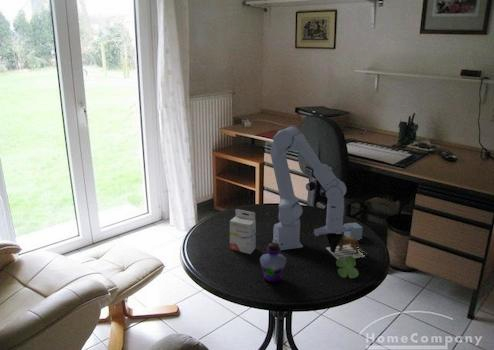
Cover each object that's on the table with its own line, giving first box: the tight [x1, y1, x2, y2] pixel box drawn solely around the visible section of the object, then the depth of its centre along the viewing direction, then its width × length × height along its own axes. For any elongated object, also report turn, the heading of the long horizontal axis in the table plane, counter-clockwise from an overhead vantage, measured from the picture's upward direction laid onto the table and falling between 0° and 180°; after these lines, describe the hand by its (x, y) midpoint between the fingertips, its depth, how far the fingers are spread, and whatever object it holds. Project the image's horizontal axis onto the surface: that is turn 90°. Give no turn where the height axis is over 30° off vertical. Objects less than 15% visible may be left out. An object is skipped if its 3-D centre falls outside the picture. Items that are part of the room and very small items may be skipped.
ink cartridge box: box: [229, 208, 257, 255], centre depth 148 cm, size 9×5×15 cm, turn 65°
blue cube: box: [343, 222, 364, 241], centre depth 159 cm, size 5×5×6 cm
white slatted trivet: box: [325, 244, 366, 260], centre depth 148 cm, size 12×10×1 cm
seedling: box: [335, 256, 360, 279], centre depth 134 cm, size 7×8×6 cm
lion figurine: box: [338, 232, 365, 254], centre depth 148 cm, size 12×4×7 cm, turn 60°
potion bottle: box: [259, 242, 288, 284], centre depth 129 cm, size 9×9×12 cm
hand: (332, 251), depth 146 cm, fingers closed
